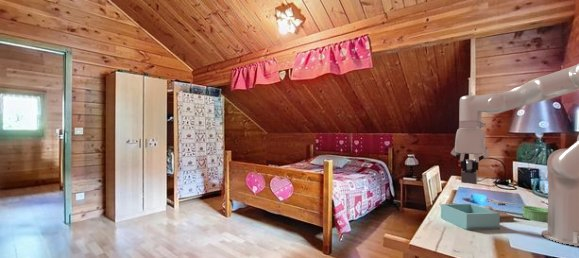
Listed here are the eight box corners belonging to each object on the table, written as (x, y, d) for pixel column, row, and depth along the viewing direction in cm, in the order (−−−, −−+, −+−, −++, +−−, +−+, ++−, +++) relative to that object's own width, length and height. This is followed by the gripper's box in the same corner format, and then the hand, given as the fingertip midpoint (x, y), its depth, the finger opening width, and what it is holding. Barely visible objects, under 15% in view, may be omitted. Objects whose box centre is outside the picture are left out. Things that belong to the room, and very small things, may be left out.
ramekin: (517, 216, 120) (517, 207, 120) (528, 214, 123) (529, 205, 123) (543, 223, 112) (543, 212, 112) (554, 221, 115) (554, 210, 115)
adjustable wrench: (552, 212, 129) (552, 208, 129) (551, 215, 125) (551, 211, 125) (488, 201, 148) (488, 198, 148) (485, 203, 143) (485, 200, 143)
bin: (499, 228, 104) (499, 213, 104) (466, 230, 102) (466, 214, 102) (470, 217, 118) (470, 203, 118) (440, 218, 116) (440, 204, 116)
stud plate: (513, 220, 114) (513, 209, 114) (488, 221, 112) (488, 210, 112) (489, 212, 126) (489, 202, 126) (465, 212, 124) (465, 202, 124)
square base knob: (477, 182, 110) (477, 159, 110) (476, 184, 106) (476, 160, 107) (462, 180, 113) (462, 158, 114) (461, 182, 110) (461, 159, 110)
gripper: (495, 126, 108) (494, 172, 108) (448, 126, 118) (447, 168, 118) (495, 125, 102) (494, 174, 102) (445, 125, 112) (444, 170, 112)
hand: (469, 170), depth 110 cm, fingers closed on square base knob, 3 cm apart
